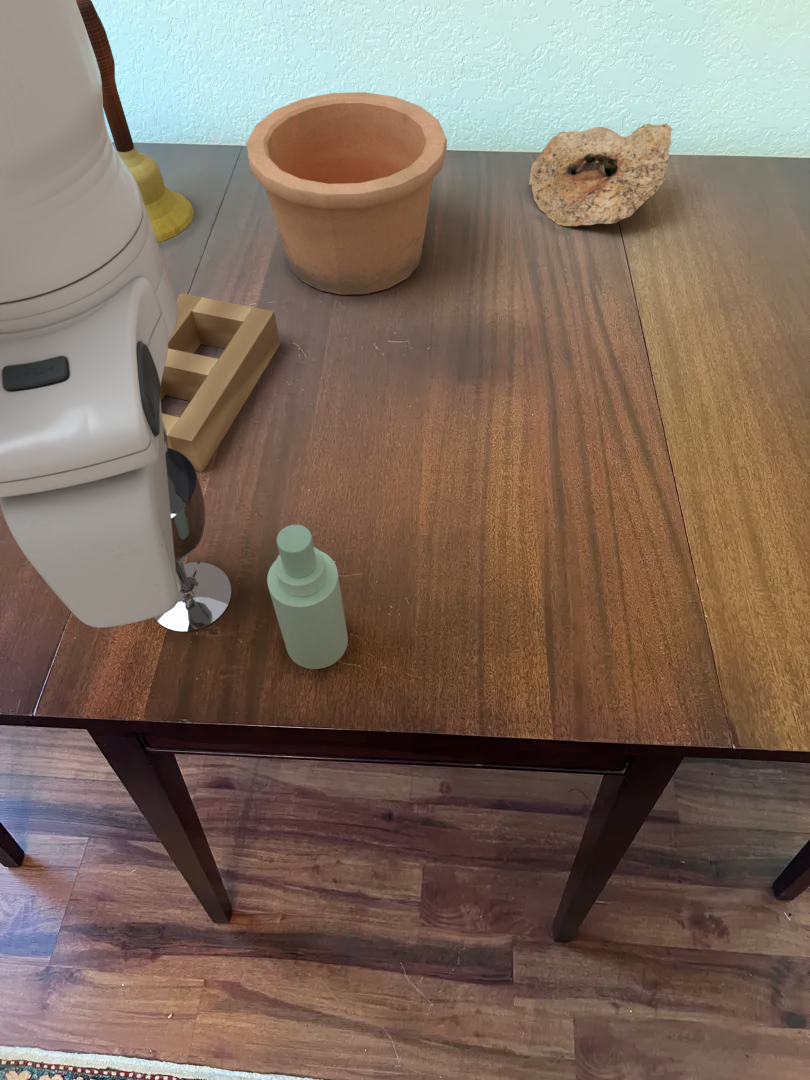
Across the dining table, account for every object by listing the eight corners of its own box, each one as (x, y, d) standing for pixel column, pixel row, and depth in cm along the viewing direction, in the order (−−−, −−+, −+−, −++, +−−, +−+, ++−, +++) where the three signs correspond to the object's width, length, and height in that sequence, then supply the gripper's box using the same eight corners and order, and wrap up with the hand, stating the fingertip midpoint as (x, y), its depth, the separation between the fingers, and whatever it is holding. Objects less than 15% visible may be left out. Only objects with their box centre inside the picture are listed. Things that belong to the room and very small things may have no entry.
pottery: (246, 302, 92) (221, 186, 80) (291, 198, 104) (275, 85, 93) (429, 318, 89) (430, 201, 78) (452, 210, 102) (456, 96, 90)
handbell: (196, 238, 99) (139, 16, 79) (97, 251, 98) (14, 29, 78) (191, 186, 106) (138, -29, 86) (99, 197, 105) (23, -18, 85)
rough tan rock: (533, 262, 106) (515, 220, 100) (549, 182, 111) (533, 137, 105) (671, 241, 97) (661, 194, 91) (682, 155, 102) (673, 105, 96)
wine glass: (190, 544, 71) (143, 430, 59) (255, 586, 69) (219, 475, 56) (125, 605, 68) (60, 497, 55) (191, 652, 65) (138, 549, 53)
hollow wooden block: (102, 448, 78) (87, 416, 75) (190, 325, 89) (181, 292, 86) (202, 472, 76) (192, 441, 73) (280, 344, 87) (274, 311, 84)
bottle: (276, 659, 64) (243, 559, 52) (299, 607, 67) (273, 501, 55) (335, 676, 63) (315, 578, 51) (356, 623, 66) (342, 517, 54)
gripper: (-15, 168, 36) (95, 390, 47) (-58, 513, 24) (101, 697, 35) (125, 145, 36) (200, 369, 48) (148, 470, 25) (240, 664, 36)
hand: (158, 511), depth 41 cm, fingers open, 8 cm apart
